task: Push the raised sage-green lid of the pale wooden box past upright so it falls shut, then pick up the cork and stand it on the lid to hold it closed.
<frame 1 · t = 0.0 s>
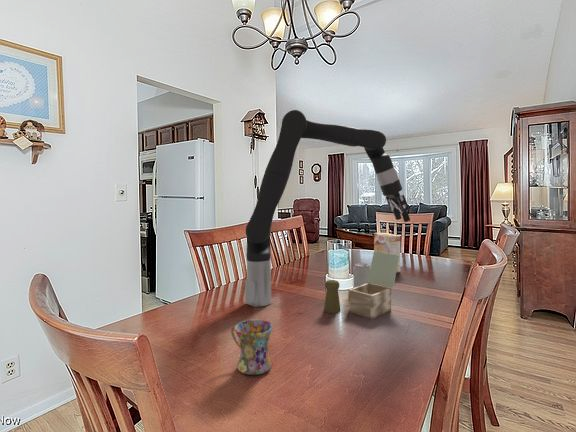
hand: (403, 220, 131), 31 cm above the table, tool tilted 20°, fingers open, 8 cm apart
coffeecake box: (386, 270, 183), on the table
mug: (250, 367, 84), on the table
can: (362, 292, 144), on the table
box: (369, 310, 121), on the table
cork: (332, 310, 122), on the table
lid: (383, 269, 126), point 14 cm above the table, hinge at 110.1°
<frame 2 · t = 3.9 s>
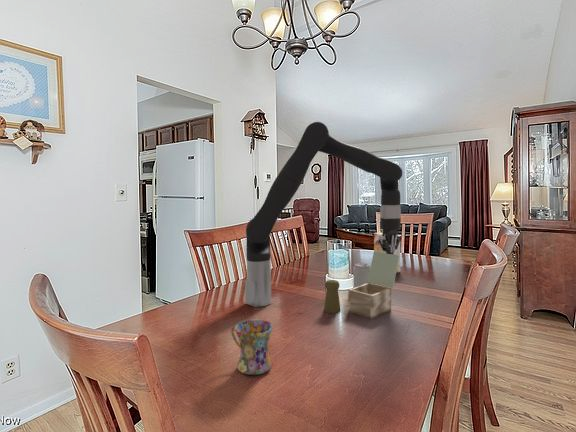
hand: (389, 261, 129), 16 cm above the table, tool pointing down, fingers closed
lid: (383, 269, 126), point 14 cm above the table, hinge at 109.8°, touching gripper
everything else where it was.
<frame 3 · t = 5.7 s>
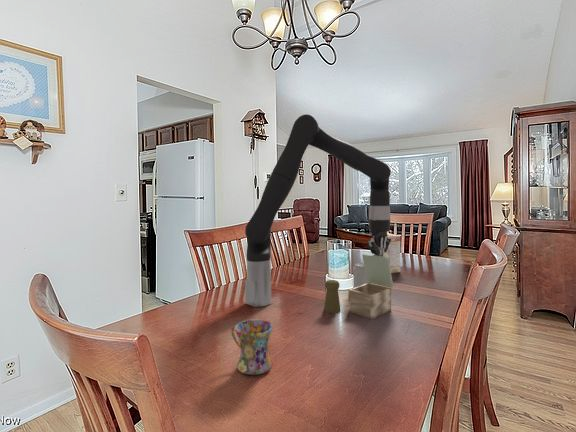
hand: (379, 264, 124), 16 cm above the table, tool pointing down, fingers closed
lid: (377, 270, 123), point 14 cm above the table, hinge at 71.6°, touching gripper
everything else where it was.
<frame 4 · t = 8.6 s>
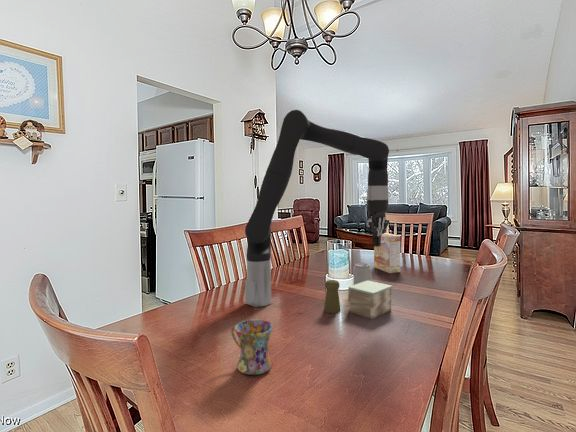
hand: (376, 246, 122), 23 cm above the table, tool pointing down, fingers closed
lid: (370, 287, 121), point 9 cm above the table, hinge at -0.2°
everything else where it was.
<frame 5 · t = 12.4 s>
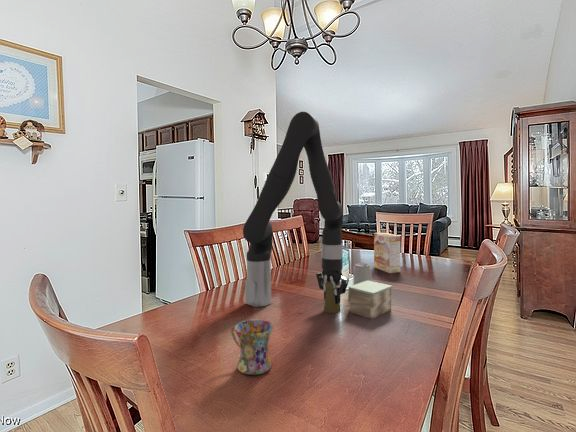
hand: (332, 302, 122), 3 cm above the table, tool pointing down, fingers closed on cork, 4 cm apart
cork: (332, 310, 122), on the table, touching gripper
everything else where it was.
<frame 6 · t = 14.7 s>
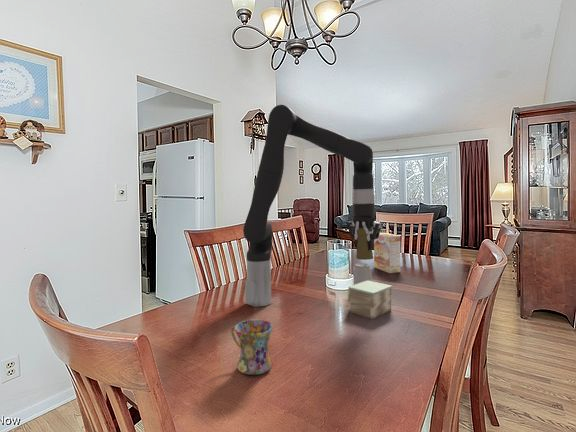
hand: (364, 250, 119), 22 cm above the table, tool pointing down, fingers closed on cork, 4 cm apart
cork: (364, 258, 120), point 19 cm above the table, touching gripper
everything else where it was.
when the fingers open (13 cm above the table, at t = 16.9 s): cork stays where it is, resting on lid.
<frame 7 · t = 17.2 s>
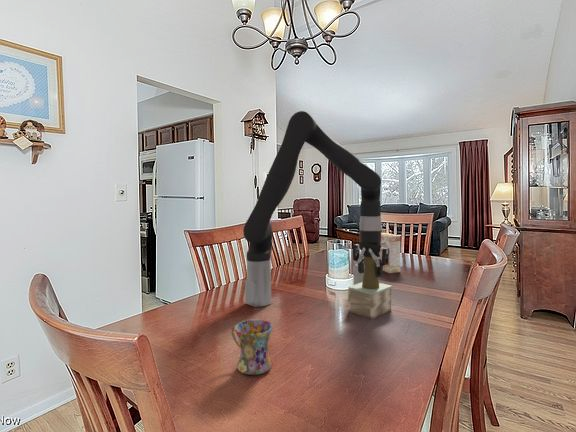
hand: (370, 274, 120), 13 cm above the table, tool pointing down, fingers open, 6 cm apart
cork: (370, 287, 120), point 9 cm above the table, touching lid
lid: (370, 287, 121), point 9 cm above the table, hinge at -0.3°, touching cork
everything else where it was.
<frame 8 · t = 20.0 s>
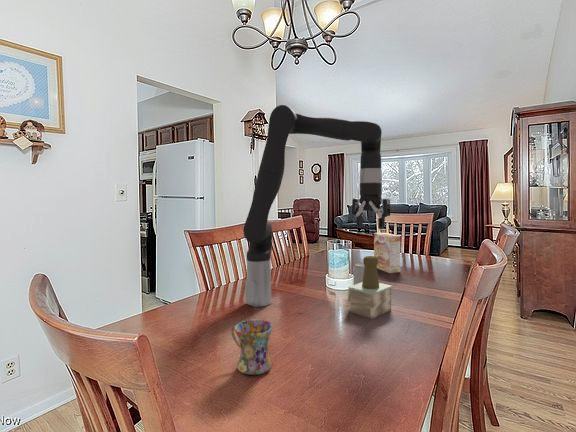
hand: (370, 227, 119), 30 cm above the table, tool pointing down, fingers open, 8 cm apart
nothing on the table moved.
at the end: lid at +0° (first picture: +110°); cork inside the target area (0.3 cm from its centre), point 8.8 cm above the table; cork tilted 0° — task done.
